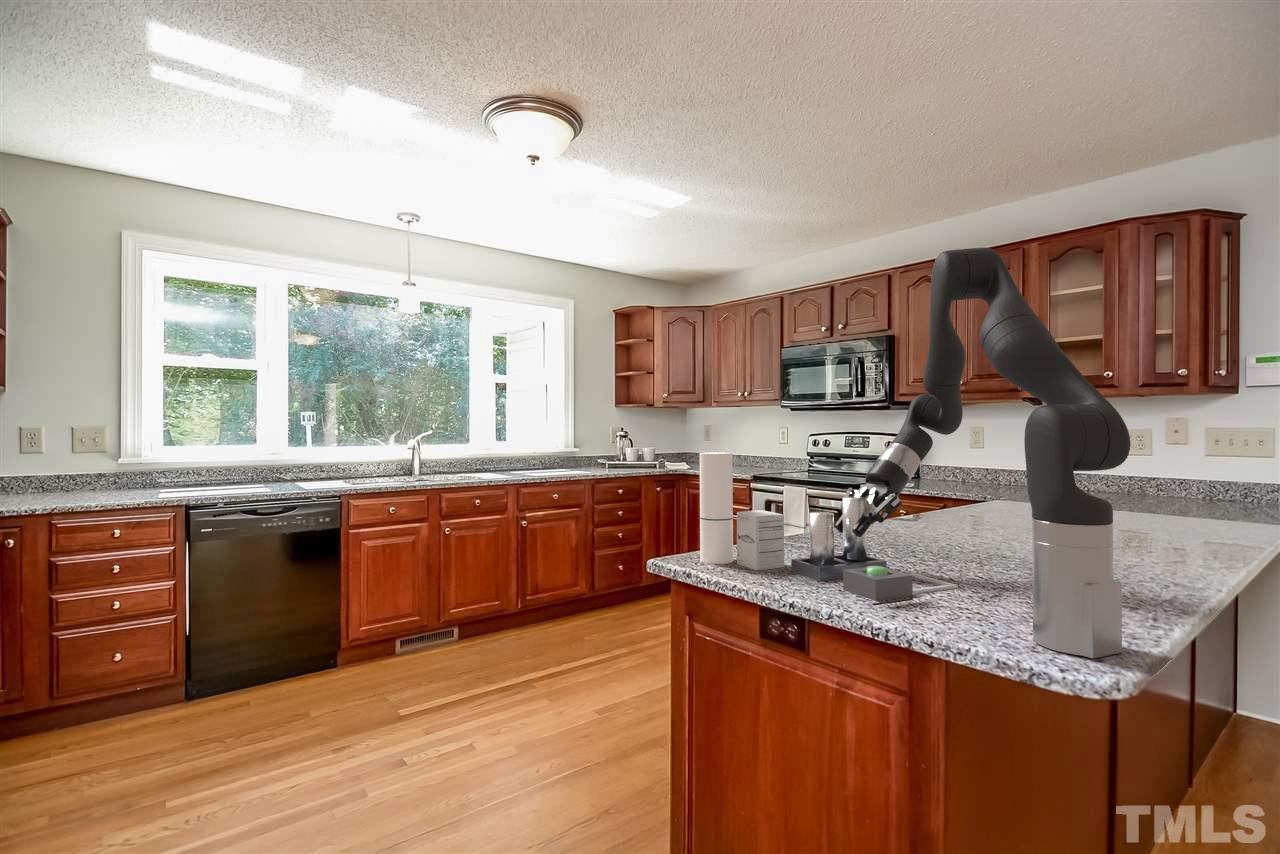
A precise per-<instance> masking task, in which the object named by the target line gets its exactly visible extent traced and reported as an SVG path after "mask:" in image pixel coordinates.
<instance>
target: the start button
mask: <svg viewBox="0 0 1280 854" xmlns="http://www.w3.org/2000/svg"><path fill="white" fill-rule="evenodd" d="M867 573H868V574H871V575H874V576H881V575H888V574H887V568H885V567H881V566H868V567H867Z"/></svg>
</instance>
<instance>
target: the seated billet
mask: <svg viewBox="0 0 1280 854" xmlns="http://www.w3.org/2000/svg"><path fill="white" fill-rule="evenodd" d="M834 555H835V513H833V512H828V511H811V512H809V557H810V564H812V565H816V566H829V565H834Z"/></svg>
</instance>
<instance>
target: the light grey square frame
mask: <svg viewBox="0 0 1280 854" xmlns="http://www.w3.org/2000/svg"><path fill="white" fill-rule="evenodd" d="M908 574H909V575H912V579H913V578H916V579H919V580H923V581H926V582H930V583H933V584H936V585H935V586H927V587H921V588H920V587H919V588H913V587H912V590H913V595H915V594H922V593H923V594H925V593H930V592H937V591H946V590H953V589H954V590H955V589H958V584H954V583H952V582H947V581H944V580H940V579H937V578H933V577H929V576H926V575H923V574H918V573H914V572H912V573H908Z"/></svg>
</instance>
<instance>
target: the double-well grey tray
mask: <svg viewBox="0 0 1280 854" xmlns="http://www.w3.org/2000/svg"><path fill="white" fill-rule="evenodd" d="M790 563H791V565H790V566H791V569H790V571H791V572H792V573H794V574H796V575H800V576H803V577H805V578H808V579H811V580H813V581H817V582H820V583H821V582H822V583H823V582H828V581H829V582H830V581H838V580H843V570H847V569H856V568H865V567H868V566H881V567H885V568H887V567H888V566H887V565H888V564H887V560H883V559H880V558H876V557H873V556H868V555H867V559H865V560H851V559H846V558H843V553H841V554H840V553H839V554H834V565H829V566H816V565H812V564H810V556H809V557H799V558H791V560H790Z"/></svg>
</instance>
